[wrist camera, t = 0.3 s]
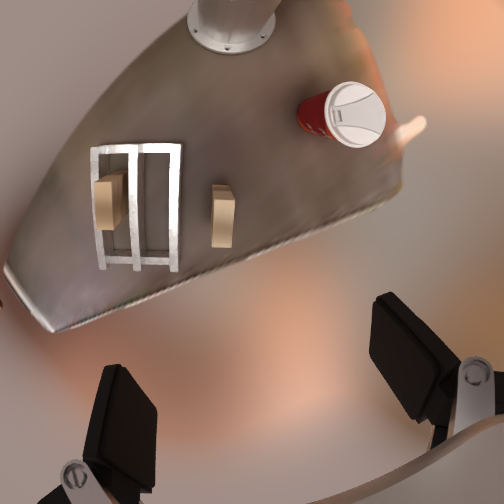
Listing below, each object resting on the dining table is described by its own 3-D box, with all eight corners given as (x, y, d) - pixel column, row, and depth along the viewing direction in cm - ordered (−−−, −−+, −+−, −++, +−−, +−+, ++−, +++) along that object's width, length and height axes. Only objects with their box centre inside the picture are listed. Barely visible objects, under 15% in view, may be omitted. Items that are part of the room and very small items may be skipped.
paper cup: (294, 143, 39) (335, 152, 27) (285, 95, 36) (323, 81, 23) (340, 137, 40) (394, 145, 27) (333, 90, 36) (385, 80, 24)
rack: (102, 144, 34) (90, 147, 30) (183, 143, 37) (180, 144, 32) (107, 256, 42) (99, 269, 37) (180, 258, 44) (178, 272, 40)
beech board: (212, 184, 40) (214, 199, 32) (228, 185, 40) (235, 200, 32) (210, 223, 42) (211, 247, 34) (225, 223, 43) (231, 247, 35)
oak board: (115, 170, 36) (93, 182, 28) (130, 170, 37) (111, 181, 29) (116, 209, 39) (96, 229, 31) (130, 209, 39) (113, 229, 31)
